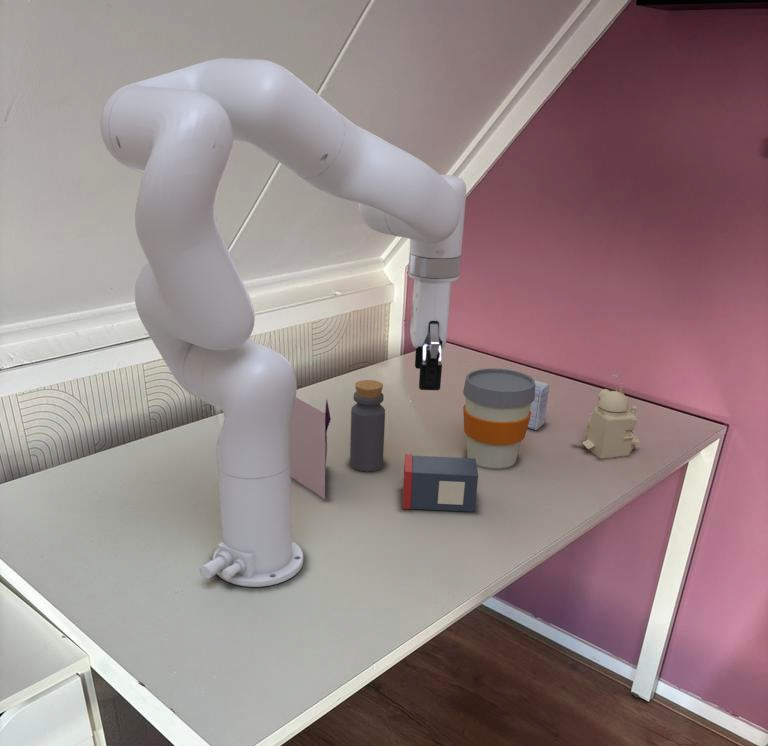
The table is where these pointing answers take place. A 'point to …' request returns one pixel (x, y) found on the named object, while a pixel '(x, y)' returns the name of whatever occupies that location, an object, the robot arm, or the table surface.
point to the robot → (611, 426)
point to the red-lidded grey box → (440, 483)
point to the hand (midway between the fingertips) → (427, 378)
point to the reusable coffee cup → (496, 415)
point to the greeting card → (309, 446)
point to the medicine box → (539, 405)
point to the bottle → (367, 427)
